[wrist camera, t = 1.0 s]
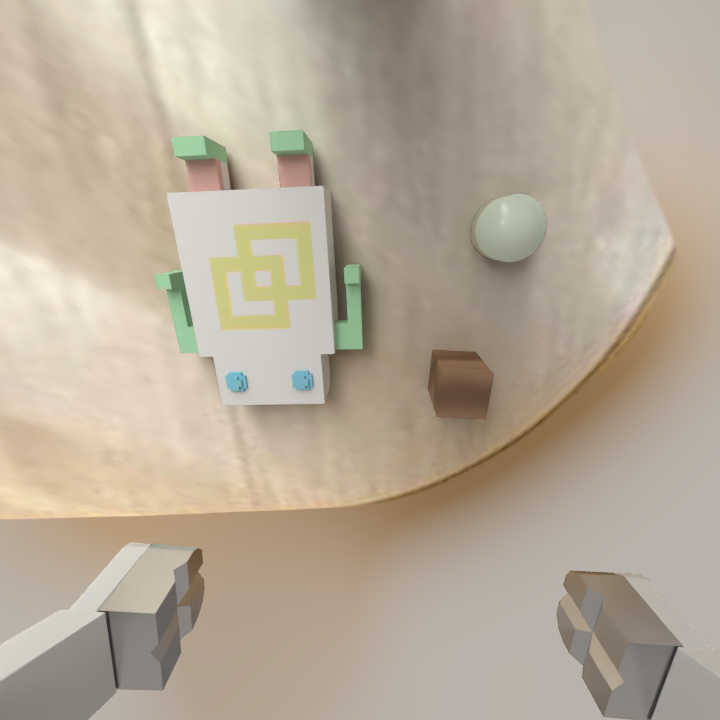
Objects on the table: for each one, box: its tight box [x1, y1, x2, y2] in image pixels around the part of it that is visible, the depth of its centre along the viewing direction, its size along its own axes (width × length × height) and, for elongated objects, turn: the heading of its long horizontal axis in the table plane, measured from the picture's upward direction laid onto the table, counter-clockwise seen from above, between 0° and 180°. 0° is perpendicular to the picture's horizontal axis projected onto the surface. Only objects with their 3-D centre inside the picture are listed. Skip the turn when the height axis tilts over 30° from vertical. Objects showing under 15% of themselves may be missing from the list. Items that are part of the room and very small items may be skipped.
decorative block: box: [155, 130, 363, 405], centre depth 37 cm, size 26×6×20 cm
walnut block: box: [428, 350, 494, 419], centre depth 39 cm, size 5×5×7 cm
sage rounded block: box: [471, 194, 547, 262], centre depth 35 cm, size 6×6×4 cm
